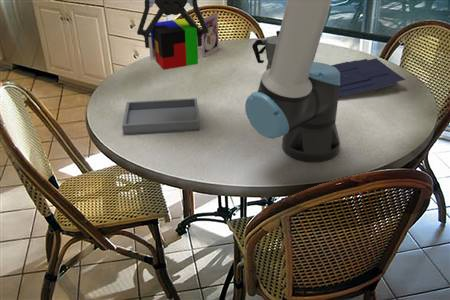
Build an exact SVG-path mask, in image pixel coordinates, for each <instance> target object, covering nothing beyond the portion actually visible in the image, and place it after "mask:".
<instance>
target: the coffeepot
mask: <svg viewBox="0 0 450 300" xmlns="http://www.w3.org/2000/svg"><path fill="white" fill-rule="evenodd" d="M275 32H276V35H271V36H268V37H267V36H266V37H265V38H261V39H256V40H255V41H254V42H253V44H252V51H253V52H254V55H255V58H256V62H257V63H258V64H263V63H264V62H265V60H263V59H261V54H259V51H260V50H259V48H258V46H265V48H266V49H265V55H266V60H267V65H266V68H265V71H266V70H268V69H270V68H271V65H272V61H273V57H274V53H275V48H276V44H277V40H278V36H279V32H280V30H277V31H275Z"/></svg>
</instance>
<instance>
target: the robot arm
mask: <svg viewBox="0 0 450 300" xmlns="http://www.w3.org/2000/svg"><path fill="white" fill-rule="evenodd" d="M332 2H333V0H286V2H285V3H286V4H285V8H284V12H283V16H282V20H281V24H280V29H279V31H280V32H279V36H278V40H277V44H276V48H275V53H274V57H273V61H272V65H271V68H270V69H268V70H266V69H265V70H264V71H263V73H262V75H261V78H260V82H259V86H258V90H257V91H254V92H251V93H250V94H249V95H248V97H247V98H246V100H245V107H244V109H245V114H246V117H247V119H248V121H249V124H250V125H251V126H252V128H253V129H254V130H255V131H256V132H257V133H258V134H259V135H261V136H262V137H264V138H266V139H277V138H280V137H282V139H281V140H282V141H281V147H282V150H283V152H284V153H285V154H286V155H288V156H289V157H290V158H293V159H294V160H299V161H302V162H310V163H320V162H325V161H328V160H332V159H333V158H335V157H336V156H337V155H338V154H339V152H340V146H341V140H340V136H339V131H338V128H337V125H336V121H337V113H338V112H337V111H338V102H339V97H338V96H339V88H340V72H339V71H338V69H337V68H335V67H333V66H331V65H332V64H328V63H323V62H318V61H315V57H316V53H317V52H318V48H319V44H320V40H321V38H322V34H323V31H324V28H325V25H326V21H327V18H328V15H329V11H330V9H331V5H332ZM154 4H155V5H156V7H157V8H158V10H157V12H156V14H155V15H154V16H153V18H152V20H151V21H150V23H149V24H148V25H147V27H146V29H144V26H145V24H146V21H147V18H148V15H149V13H150V8H152V7H153V6H154ZM187 4H188V5H189V6H190V7H192V9H193V11H194V14H195V16H196V18H197V21H198V23H199V25H200V26H198V23H197V22H195V20H194V19H193V18H192V16H191V15H190V14H189V13H188V11H187V10H186V8H185V7H186V5H187ZM179 14H180V15H181V17H182V18H183V19H185V20H186V21H187V22H188V24H189V25H190V26H191V27H195V28H196V29H197V53H198V54H199V47H202V35H203V34H205V33H208V27H207V25H206V23H205V20H204V18H205V17H204V16H203V13H202V12H201V10H200V8H199V5H198V0H144V9H143V12H142V15H141V19H140V22H139V24H138V28H137V32H136V33H137V35H138V36H142V37H143V38H144V47H145V48H146V49H149V56H150V57H149V58H150V61H154V53H153V41H152V34H151V31H152V30H153V28H154V27H155V25H156V24H157V22H160V19H161V18H162V16H163V15H165V16H170V15H171V16H172V15H173V16H178V15H179ZM200 27H201V28H200Z"/></svg>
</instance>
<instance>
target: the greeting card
mask: <svg viewBox="0 0 450 300" xmlns="http://www.w3.org/2000/svg"><path fill="white" fill-rule="evenodd" d="M218 17H219V13H218V12H215V13H213V14H211V15H209V16H206V17H203V18H204V20H205V23H206V25H207V27H208V33H205V34H203V35H202V46H201V47H202V58H206V57H207V56H209V55H210V54H212V53H215V52H217V51H218V50H219V19H218Z"/></svg>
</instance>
